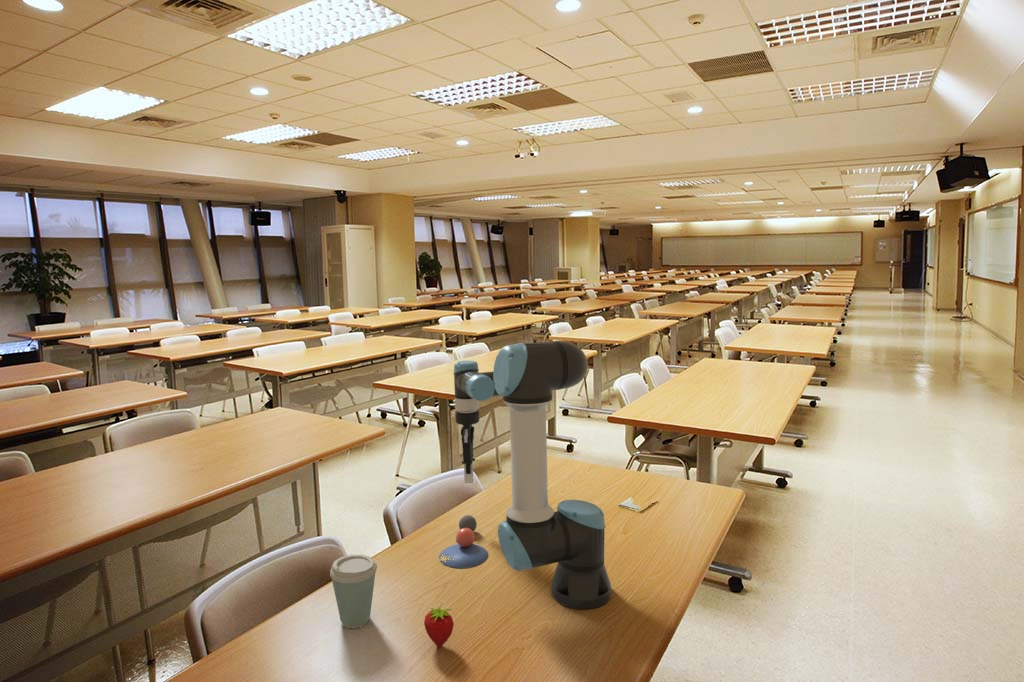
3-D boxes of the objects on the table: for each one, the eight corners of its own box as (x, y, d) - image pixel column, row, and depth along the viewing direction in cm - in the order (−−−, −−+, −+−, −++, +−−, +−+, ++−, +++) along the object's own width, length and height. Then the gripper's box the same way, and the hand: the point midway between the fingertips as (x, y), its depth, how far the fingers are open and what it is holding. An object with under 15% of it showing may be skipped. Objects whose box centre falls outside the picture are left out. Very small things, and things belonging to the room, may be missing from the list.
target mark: (486, 568, 160) (486, 567, 160) (435, 568, 160) (435, 567, 160) (489, 544, 174) (489, 543, 174) (442, 544, 174) (442, 543, 174)
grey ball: (477, 517, 185) (477, 534, 182) (460, 517, 185) (459, 535, 182) (475, 513, 180) (475, 531, 177) (458, 513, 180) (457, 532, 177)
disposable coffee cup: (361, 602, 144) (358, 546, 142) (389, 619, 137) (386, 559, 136) (323, 623, 136) (320, 563, 134) (351, 641, 129) (347, 578, 127)
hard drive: (639, 510, 194) (657, 498, 203) (618, 504, 199) (636, 492, 208) (639, 515, 194) (657, 503, 203) (618, 508, 199) (636, 497, 209)
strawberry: (441, 632, 132) (440, 591, 131) (460, 648, 126) (459, 606, 125) (419, 643, 128) (417, 601, 127) (437, 660, 123) (435, 616, 121)
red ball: (475, 546, 174) (473, 548, 169) (457, 546, 174) (454, 548, 169) (475, 527, 176) (473, 528, 170) (457, 527, 176) (455, 528, 170)
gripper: (457, 405, 188) (459, 474, 191) (452, 415, 176) (454, 490, 179) (480, 405, 188) (482, 474, 191) (477, 415, 175) (479, 489, 178)
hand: (469, 482), depth 185 cm, fingers closed
